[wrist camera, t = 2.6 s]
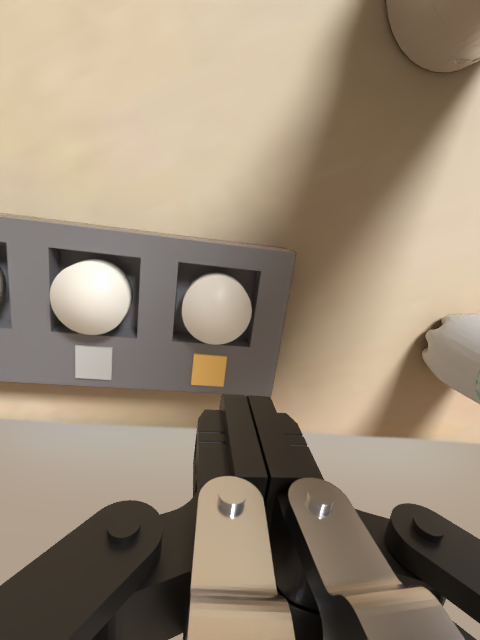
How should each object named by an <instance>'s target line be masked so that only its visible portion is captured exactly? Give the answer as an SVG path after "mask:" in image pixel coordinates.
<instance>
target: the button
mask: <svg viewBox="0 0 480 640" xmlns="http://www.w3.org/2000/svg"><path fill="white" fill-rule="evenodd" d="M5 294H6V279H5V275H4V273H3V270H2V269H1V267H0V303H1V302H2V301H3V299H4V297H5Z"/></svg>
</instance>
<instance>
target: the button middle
mask: <svg viewBox="0 0 480 640" xmlns="http://www.w3.org/2000/svg"><path fill="white" fill-rule="evenodd" d="M132 301H133V290H132V285H131V283H130V280H129V279H128V277H127V275H126V274H125V273H124V272H123V271H122V270H121V269H120V268H119V267H118V266H116V265H114V264H113V263H111V262H108V261H105V260H101V259H87V260H83V261H81V262H78V263H76V264H73V265H71V266H69V267H67V268H65V269H64V270H62V271H61V272H60V273H59V274H58V275H57V276H56V278H55V279H54V281H53V283H52V285H51V289H50V302H51V306H52V309H53V311H54V313H55V315H56V316H57V318H58V319H59V320H60V321H61V322H62V323H63V324H64V325H65V326H67V327H68V328H70V329H71V330H73V331H75V332H78V333H81V334H86V335H99V334H103V333H106V332H109V331H111V330H112V329H114V328H115V327H116V326H118V325H119V324H120V322H121V321H122V320H123V318H124V317H125V315H126V314H127V312H128V311H129V309H130V307H131V305H132Z"/></svg>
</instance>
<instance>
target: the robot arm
mask: <svg viewBox="0 0 480 640" xmlns="http://www.w3.org/2000/svg"><path fill="white" fill-rule="evenodd" d="M386 5H387V13H388V20H389V23H390V26H391V29H392V32H393V35H394V37H395V39H396V41H397V43H398V45H399V46H400V48H401V50H402V51H403V52H404V53H405V54H406V55H407V56H408V58H409V59H410V60H412V61H413V62H414V63H416V64H417V65H419V66H420V67H422V68H425V69H428V70H430V71H433V72H446V73H447V72H452V71H457V70H461V69H463V68H465V67H467V66H470V65H472V64H474V63H476V62H478V61H480V0H386ZM193 462H194V463H193V498H192V499H191V500H190V501H189V502H188V503H187V504H185V505H184V506H183V507H181V508H179V509H177V510H174V511H171V512H168V513H164V514H161V515H159V513H158V512H157V511H156V510H155V509H154V508H153V507H152V506H150V505H148V504H146V503H143V502H140V501H131V500H129V501H121V502H116V503H113V504H111V505H108V506H106V507H104V508H103V509H101V510H100V511H98V512H97V513H96V514H94V515H93V516H92V517H90V518H89V519H88V520H86V521H85V522H84V523H83V524H81V525H80V526H79V527H77V528H76V529H75V530H73V531H72V532H71V533H70V534H68V535H67V536H65V537H64V538H63V539H61V540H60V541H59V542H57V543H56V544H55V545H53V546H52V547H51V548H50V549H48V550H47V551H46V552H44V553H43V554H42V555H40V556H39V557H38V558H36V559H35V560H34V561H32V562H31V563H30V564H29V565H27V566H26V567H24V568H23V569H22V570H21V571H19V572H18V573H17V574H15V575H14V576H13V577H11V578H10V579H9V580H7V581H6V582H5V583H3V584H2V585H1V586H0V640H168V639H170V638H173V637H175V636H177V635H179V634H181V633H183V640H476V639H475V638H474V637H472V636H471V635H470V634H468V633H467V632H466V631H464V630H463V629H462V628H461V627H460V626H458V625H457V624H456V623H454V622H453V621H452V620H451V618H450V617H449V615H448V614H447V612H446V611H445V610H444V608H443V605H444V603H445V600H446V599H448V600H449V601H450V602H452V603H453V604H454V605H456V606H457V607H458V608H460V609H461V610H463V611H464V612H465V613H467V614H468V615H469V616H471V617H472V618H473V619H474V620H476V621H477V622H478V623H480V539H478V538H476V537H474V536H473V535H472V534H470V533H468V532H467V531H465V530H463V529H462V528H460V527H458V526H457V525H455V524H453V523H452V522H450V521H448V520H447V519H445V518H443V517H442V516H440V515H438V514H437V513H435V512H433V511H432V510H430V509H428V508H425V507H423V506H420V505H416V504H400V505H398V506H396V507H395V508H394V509H393V511H392V513H391V516H390V519H387V518H384V517H381V516H377V515H373V514H370V513H366V512H363V511H359V510H357V509H354V507H353V506H352V504H351V503H350V501H349V499H348V498H347V497H346V495H345V494H344V493H343V492H342V491H341V490H340V489H339V488H337V487H336V486H334V485H333V484H331V483H329V482H327V481H324V479H323V477H322V475H321V472H320V470H319V468H318V466H317V464H316V462H315V460H314V458H313V456H312V454H311V452H310V449H309V447H307V443H306V441H305V439H304V437H302V433H301V431H300V428H299V426H298V424H297V423H296V422H295V421H294V420H293V419H292V418H291V417H289V416H288V415H287V414H286V413H277V412H276V410H275V407H274V405H273V402H272V400H271V398H270V397H266V396H248V395H247V396H245V395H228V394H222V396H221V401H220V409H219V410H204V412H203V413H202V414H201V416H200V417H199V419H198V424H197V434H196V444H195V452H194V461H193Z"/></svg>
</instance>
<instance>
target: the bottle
mask: <svg viewBox="0 0 480 640" xmlns="http://www.w3.org/2000/svg"><path fill="white" fill-rule="evenodd" d="M441 323H442V326H440V327H439V328H437V329H435V330H429V331H428V332H427V333H426V335H425V338H426V339H427V342H428V348H427V349H424V350H423V351H422V357H423V360H424V362H425V363H426V364H427V366H428V367H429V368H430V369H431V371H432V372H433V373H434V375H435V376H436V377H437V378H438V379H440V380H441V381H442V382H443V383H445V384H446V385H448V386H449V387H451V388H453V389H454V390H456V391H458V392H459V393H461V394H463V395H465V396H466V397H468V398H470V399H472V400H474V401H475V402H477V403H479V404H480V315H478V314H468V315H459V314H453V315H448V316H446V317H444V318H442V320H441Z"/></svg>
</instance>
